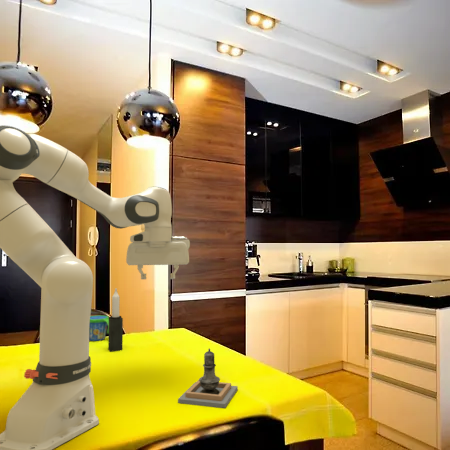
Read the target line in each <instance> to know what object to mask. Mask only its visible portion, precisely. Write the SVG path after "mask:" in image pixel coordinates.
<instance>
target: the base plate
mask: <svg viewBox="0 0 450 450" xmlns="http://www.w3.org/2000/svg"><path fill="white" fill-rule="evenodd" d="M238 388H239V387H238V385H232V383H230V382H223V381H222V382H220V381H219V384H218V386H217V388H215V389H217V390H218V391H219V394H207V393H200V391H201V390H203V388H202V387H201V385H200V381H199V379H198V380H197V381H196V382H194V383H193V384H192V385H191V386H190V387H189V388H188V389H187V390H186V391H185V392H184V393H182V395H180V397H179V398H177V403H178V404H185V405H192V406H193V405H195V406H200V407H201V406H202V407H211V408H220V409H226V407H227V406H228V405H229V404H230V402H231V400H232V399H233V397H234V396H235V394H236V393H237V391H238Z"/></svg>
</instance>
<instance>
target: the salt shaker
mask: <svg viewBox="0 0 450 450" xmlns="http://www.w3.org/2000/svg"><path fill="white" fill-rule="evenodd" d="M207 350H208V351H206V352H205V353H204V357H203V358H204V360H203V365H202V367H203V375H202V376H201V377H200V378H199V379H198V380H199V381H200V385H201V387H202V388H203V390H201V391H200V393H207V394H219V391H218V390H217V389H215V388H217V386H218V384H219V382H220V380H221V378H220V377H219V376H217V375H216V372H215V371H216V363H215V353H214V352H213V351H211V349H210V348H208V349H207Z"/></svg>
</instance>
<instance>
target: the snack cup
mask: <svg viewBox="0 0 450 450" xmlns="http://www.w3.org/2000/svg"><path fill="white" fill-rule="evenodd" d="M109 318H110V316H108V315H90V324H89V342H90V341H91V342H96V341H97V342H99V341H103V340H105V338H106V335H109Z"/></svg>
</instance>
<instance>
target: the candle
mask: <svg viewBox="0 0 450 450" xmlns="http://www.w3.org/2000/svg"><path fill="white" fill-rule="evenodd" d="M111 298H112V299H111V316H109V334H108V336H107V337H108V339H107V340H108V342H107V343H108V345H107V347H108V348H107V349H108V350H109V352H112V353H113V352H120V350H121V351H123V341H124V340H123V336H124V335H123V328H124V327H123V326H124V325H123V323H124V322H123V321H124V318H123V317H122V315H120V295H119V293H118V288H114V293H113V295H112V296H111Z"/></svg>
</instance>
